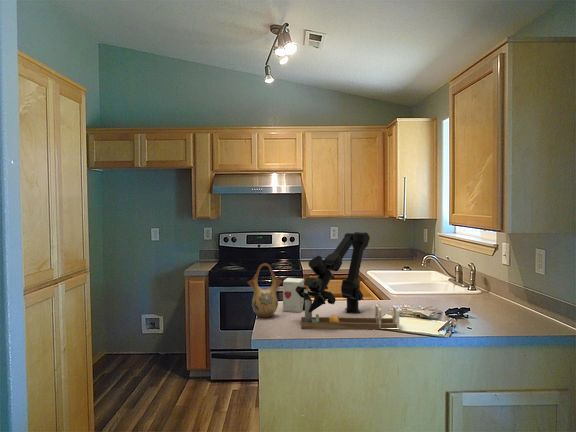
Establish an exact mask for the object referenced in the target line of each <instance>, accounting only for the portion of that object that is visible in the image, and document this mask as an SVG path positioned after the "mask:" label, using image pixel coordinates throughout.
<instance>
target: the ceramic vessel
mask: <svg viewBox="0 0 576 432" xmlns="http://www.w3.org/2000/svg"><path fill="white" fill-rule="evenodd" d="M262 267H267V268H269V269H268V270H269V271H270V275H271V280H272V281H271V285H270V287H268V288H266V289H263V288H261V287H260V286H259V283H258V279H259V274H260V271H261V269H262ZM246 283H247V284H248V285H249V286H250V287H251V288H252V291H253V296H252V300H251V306H252V310H253V312H254V313H255V314H256V316H258V317H260V318H271V316H273V315H274V314H275V313H276V311H277V309H278V305H279V299H278V296H277V290H278V288H279V287H280V285H281V284H283V281H282V280H281V279H278V278H277V276H276V275H275V272H274V270H273V269H272V266H271V265H270V264H269V263H266V262H265V263H261V264H260V265H259V266H258V268H257V270H256V273H255V274H254V276H253V277H252V279H251V280H248V281H247V282H246Z"/></svg>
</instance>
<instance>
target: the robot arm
mask: <svg viewBox="0 0 576 432" xmlns="http://www.w3.org/2000/svg"><path fill="white" fill-rule="evenodd" d="M370 239H371V238H370V234H368V232H365V231H364V232H363V231H362V232H361V231H354V232H346V233H345V234H344V237H343V238H342V240H341V241H340V242H339V244H338V245H337V247H336V248H335V249H334V251H333V252H331V253H330V254H328V255H327V256H326V257H325V258H324V259H323V257H322V256H321V255H316V257H313V258H312V259H311V260H309V262H308V267H309V268H310V270H311V271H312V272H313V274H315V275H316V276H317V277H316V278H310V277H305V279H304V287H302V286H297V288H296V290H295V291H296V292H297V293H298V294H299V296H300V297H302V298H304V303H303V309H302V311H303V312H305V300H307V299H310V300H312V305H311V307H310V309H309V312H310V313H311V312H312V313H313V311H315V310H316V309H318V308H320V307H321V306H323V305H326V301H327V303H328V304H330V305H334V304H335V302H336V297H335V295H334V294H333V292H331V291H327V290H328V289H329V287H328V285H329V284H330V281H331V280H335V275H334V272H338V271H339V270H340V268H341V267H342V264H343V258H344V256H345V255H346V254H347V252H348V251H349V249H350V248H351V247H352V252H351V253H352V254H351V260H350V263H349V268H348V274H347V276H346V278H345V279H342V282H341V286H340V292H341V295H342V298H343V299H346V307H345V308H344V309H345V312H346V313H349V314H350V313H354V314H355V313H356V314H358V313H359V314H360V313H361V311H360V309H359V301H362V300H363V298H364V294H363V293H362V291H361V290H360V288H361V287H360V283H359V273H360V269H361V264H362V259H363V254H364V251H365V249H366V248H367V247H368V245H369V242H370ZM332 272H333V273H332ZM305 286H307V288H306V287H305ZM312 297H313V299H312Z"/></svg>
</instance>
